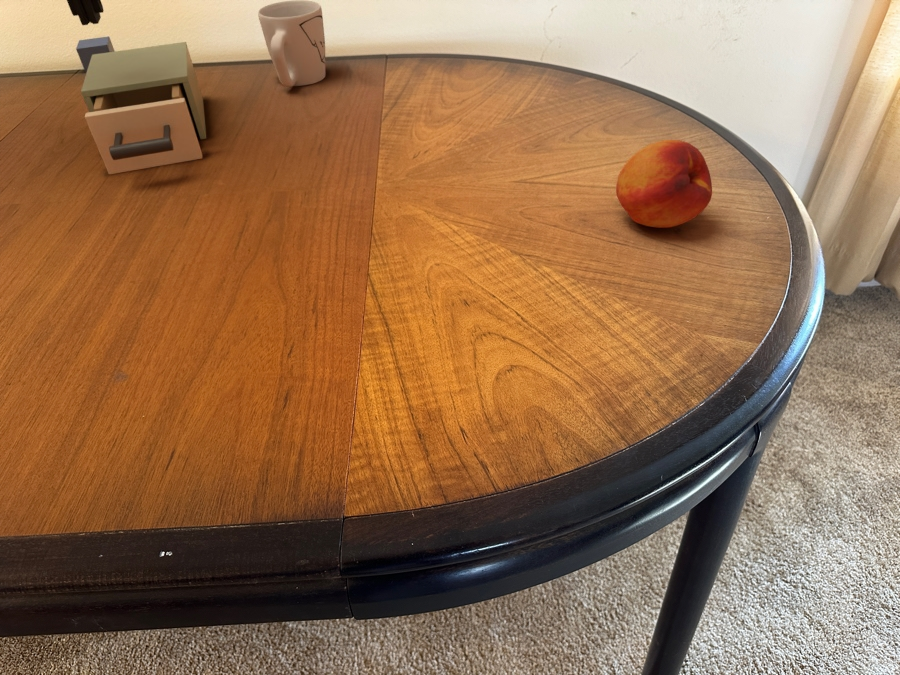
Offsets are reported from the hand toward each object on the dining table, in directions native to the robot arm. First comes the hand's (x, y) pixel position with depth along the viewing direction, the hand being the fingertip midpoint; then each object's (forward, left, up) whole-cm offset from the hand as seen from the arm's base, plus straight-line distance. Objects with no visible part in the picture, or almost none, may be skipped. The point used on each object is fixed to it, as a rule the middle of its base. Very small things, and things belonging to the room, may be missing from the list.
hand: (91, 20), depth 71 cm
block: (-6, +31, -14) cm, 34 cm away
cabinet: (+3, +3, -14) cm, 15 cm away
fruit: (+49, -39, -14) cm, 64 cm away
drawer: (+3, -6, -13) cm, 15 cm away
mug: (+22, +11, -14) cm, 28 cm away
